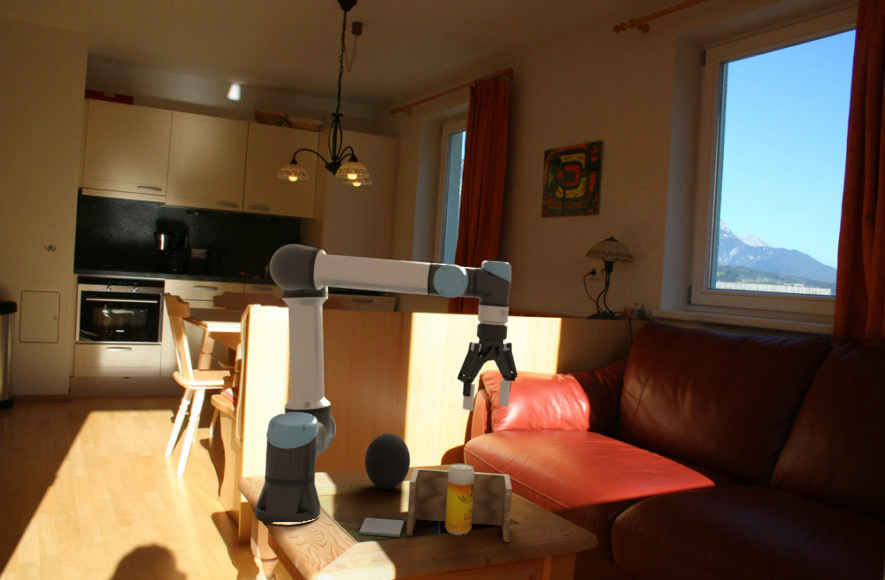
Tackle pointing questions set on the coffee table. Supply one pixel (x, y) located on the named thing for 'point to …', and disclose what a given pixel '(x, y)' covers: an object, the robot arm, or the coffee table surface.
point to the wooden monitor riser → (432, 498)
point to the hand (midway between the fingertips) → (486, 407)
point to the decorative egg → (387, 461)
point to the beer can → (459, 499)
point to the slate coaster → (381, 527)
